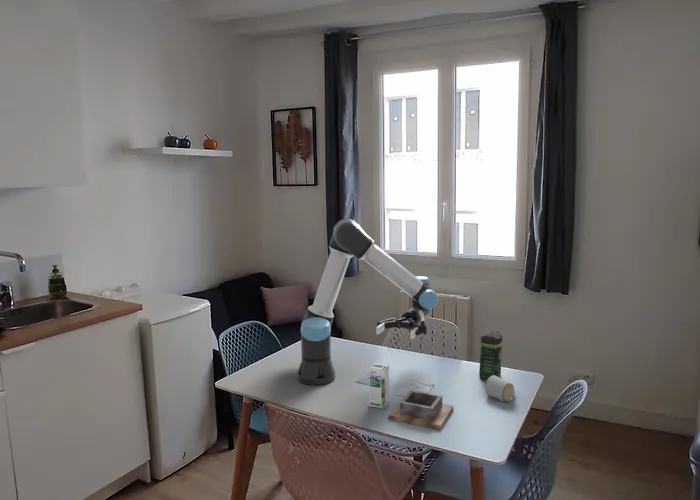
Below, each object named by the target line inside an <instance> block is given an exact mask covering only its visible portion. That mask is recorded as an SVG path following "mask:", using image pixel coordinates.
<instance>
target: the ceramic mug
mask: <svg viewBox="0 0 700 500" xmlns="http://www.w3.org/2000/svg"><path fill="white" fill-rule="evenodd" d="M484 392H485V394H486V395H487V396H489V397H492V398H494V399H497V400H499V401H502V402H509V401H510V400H511V399H513V397H514V396H515V393H516V392H515V386H514V384H513V383H512V382H510V381H508V380H506V379H503V378H501V377H497V376H495V375H492V376H490V377H489V378H488V380H486V382H485V387H484Z"/></svg>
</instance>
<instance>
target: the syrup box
mask: <svg viewBox="0 0 700 500" xmlns="http://www.w3.org/2000/svg"><path fill="white" fill-rule="evenodd" d="M368 385H369V386H368V388H369V389H368V390H369V391H368V392H369V393H368V395H369V398H368V406H369V408H370V407H373V408H378V409H384V410H385V408H386V406H387V405H388V404H389V402H390V401H389V397H390V396H389V392H390V365H389V364H385V363H379V362H373V363H372V364H371V365H370V366H369V368H368Z"/></svg>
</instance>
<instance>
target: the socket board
mask: <svg viewBox="0 0 700 500" xmlns="http://www.w3.org/2000/svg"><path fill="white" fill-rule="evenodd" d="M453 411H454V405H452V404H446V403H443V395H441V394H437V393H431V392H425V391H420V390H413V389H410V390H409V392H408V393H406V395H404V396H403V397H402V398H401V400H399V402H398V403H397V404H396V405H395V406H394V407H393V409H392V410H391V411H390V412H389V413H388V416H387V419H388V420H390V419H391V421H396V422H401V423H405V424H411V425H415V426H419V427H420V426H421V427H425V428H428V429H429V428H430V429H434V430H439V431H440V430H442V428H443V427H444V426H445V424H446V422H447V421H448V419H449V418H450V415H452V413H453Z"/></svg>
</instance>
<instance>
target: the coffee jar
mask: <svg viewBox="0 0 700 500" xmlns="http://www.w3.org/2000/svg"><path fill="white" fill-rule="evenodd" d="M502 351H503V334H502V333H501V332H500V331H497V330H488V331H485V332H484V333H482V335H481V336H480V353H479V354H480V356H479V357H480V358H479V372H478V377H479V378H480V379H482V380H484V381H487V380H488V378H489V377H490V376H492V375H495V376H497V377H499V378H501V377H502V376H501V375H502Z"/></svg>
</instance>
